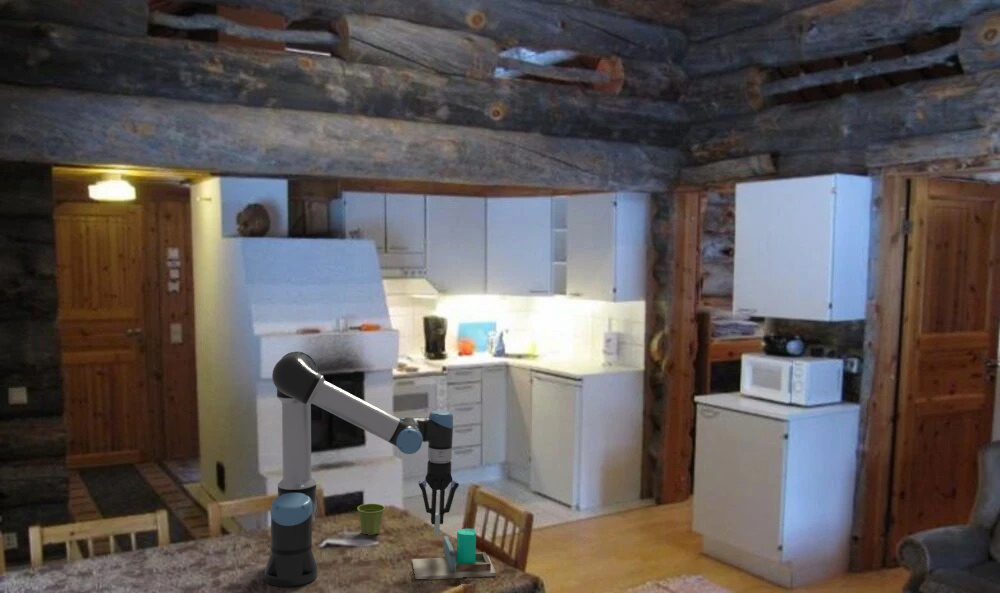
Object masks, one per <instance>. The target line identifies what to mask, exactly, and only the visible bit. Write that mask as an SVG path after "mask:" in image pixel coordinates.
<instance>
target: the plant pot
mask: <svg viewBox="0 0 1000 593" xmlns="http://www.w3.org/2000/svg"><path fill="white" fill-rule="evenodd" d="M385 509H386V507H385V505H383V504H380V503H379V504H378V503H365V504H360V505H358V506H357V511H358V514H359V520H360V522H359V523H360V530H361V534H362V533H363V534H364V535H365V534H368V535H367V536H374V535H376V534H377V535H378V534H380V530H381V524H382V519H383V514H384V511H385Z"/></svg>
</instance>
